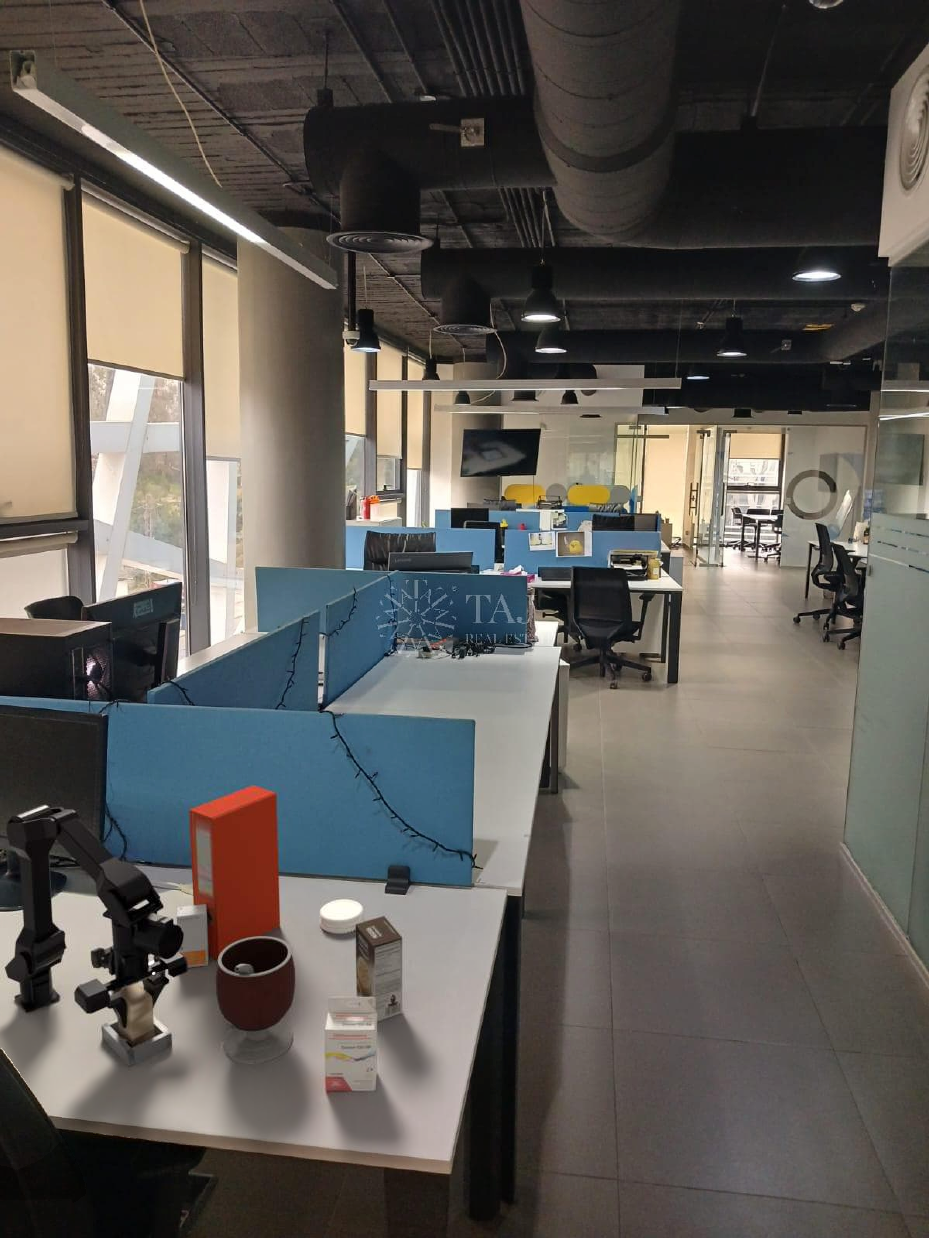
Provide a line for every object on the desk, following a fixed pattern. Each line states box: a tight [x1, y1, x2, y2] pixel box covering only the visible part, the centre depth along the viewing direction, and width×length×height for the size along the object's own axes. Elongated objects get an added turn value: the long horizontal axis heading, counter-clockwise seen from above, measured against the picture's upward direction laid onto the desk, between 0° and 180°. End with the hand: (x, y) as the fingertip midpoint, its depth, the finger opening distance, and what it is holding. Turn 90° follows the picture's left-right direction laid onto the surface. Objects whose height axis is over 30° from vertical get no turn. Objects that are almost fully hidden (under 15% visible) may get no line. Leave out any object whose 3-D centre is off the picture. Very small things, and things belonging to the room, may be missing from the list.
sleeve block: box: [116, 982, 155, 1048], centre depth 158 cm, size 4×6×8 cm, turn 45°
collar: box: [101, 1015, 173, 1067], centre depth 159 cm, size 11×8×2 cm
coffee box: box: [355, 915, 403, 1022], centre depth 168 cm, size 9×6×16 cm
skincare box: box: [176, 904, 209, 969], centre depth 183 cm, size 6×4×12 cm
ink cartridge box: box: [324, 996, 378, 1092], centre depth 148 cm, size 9×5×15 cm, turn 92°
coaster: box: [319, 899, 365, 935], centre depth 200 cm, size 10×10×4 cm
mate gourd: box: [215, 935, 296, 1065], centre depth 157 cm, size 16×14×20 cm
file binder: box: [188, 785, 281, 961], centre depth 191 cm, size 8×17×32 cm, turn 145°
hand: (135, 1021), depth 158 cm, fingers closed on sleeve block, 4 cm apart
